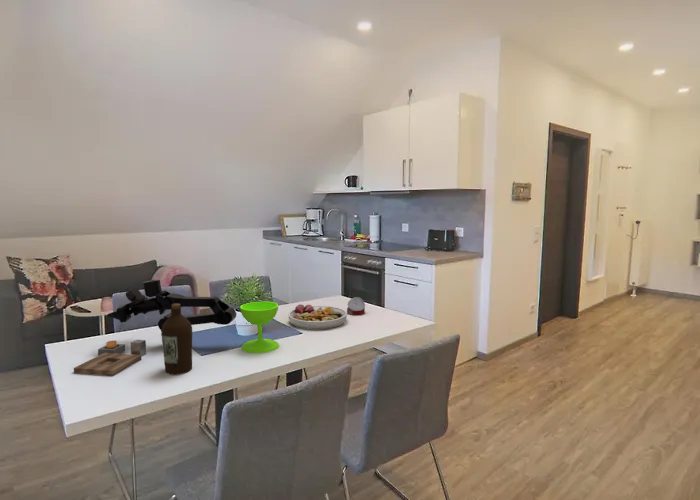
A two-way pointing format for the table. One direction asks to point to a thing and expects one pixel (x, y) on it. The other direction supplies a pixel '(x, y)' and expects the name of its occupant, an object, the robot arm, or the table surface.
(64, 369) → the table surface
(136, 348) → the metal billet
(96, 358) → the walnut pallet
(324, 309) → the bowl
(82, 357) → the table surface
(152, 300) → the robot arm
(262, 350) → the wineglass
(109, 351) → the button housing
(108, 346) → the button
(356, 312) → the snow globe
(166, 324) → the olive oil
